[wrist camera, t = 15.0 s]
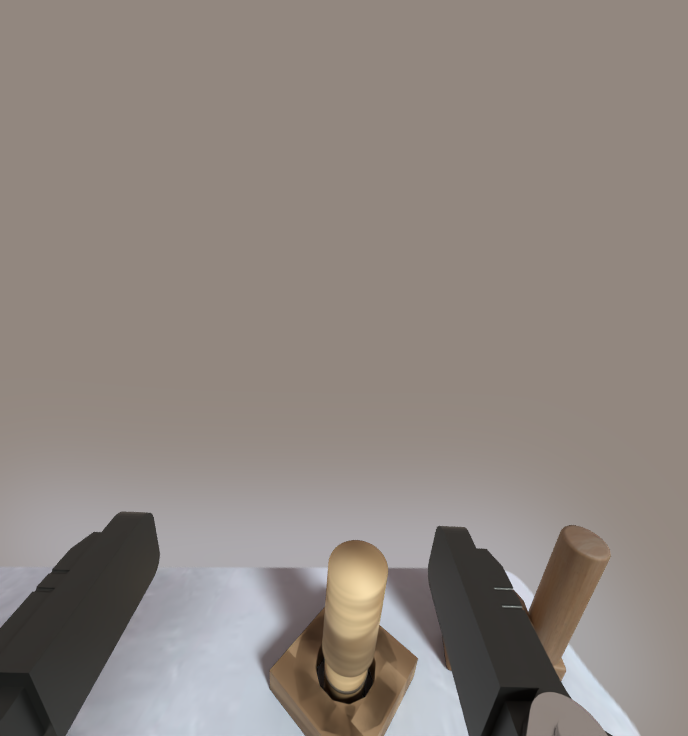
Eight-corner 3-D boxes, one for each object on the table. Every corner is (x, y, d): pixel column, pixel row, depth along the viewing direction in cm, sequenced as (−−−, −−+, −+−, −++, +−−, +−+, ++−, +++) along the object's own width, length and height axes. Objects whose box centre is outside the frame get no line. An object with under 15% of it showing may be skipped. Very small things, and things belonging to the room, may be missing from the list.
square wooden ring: (352, 797, 25) (355, 778, 24) (269, 689, 31) (269, 670, 30) (413, 676, 33) (417, 658, 32) (337, 607, 38) (339, 590, 37)
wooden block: (441, 632, 37) (474, 508, 30) (541, 651, 36) (597, 526, 29) (446, 672, 33) (485, 541, 27) (557, 694, 32) (625, 562, 26)
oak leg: (347, 732, 29) (365, 609, 23) (308, 687, 31) (315, 567, 26) (377, 681, 32) (399, 563, 27) (340, 644, 35) (352, 530, 29)
